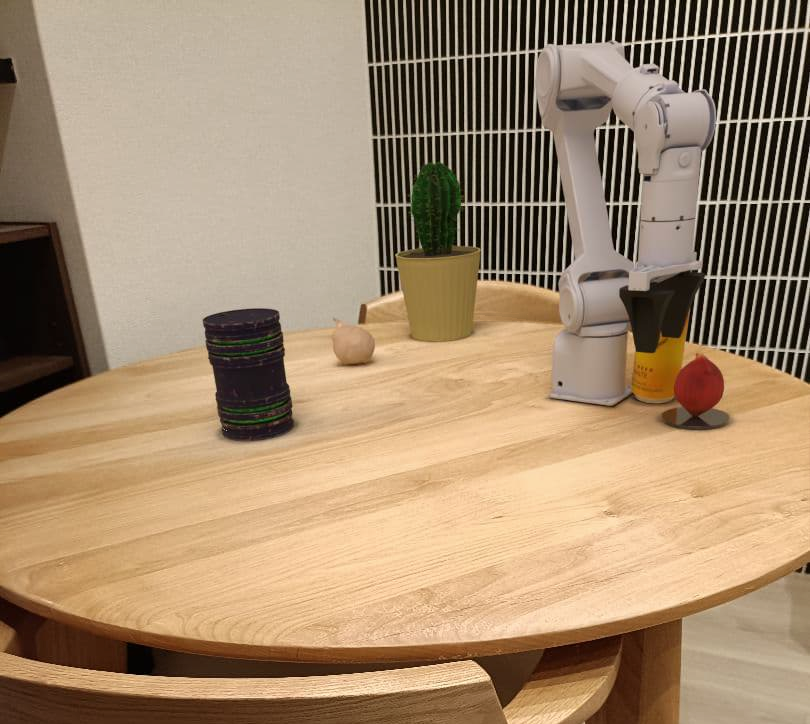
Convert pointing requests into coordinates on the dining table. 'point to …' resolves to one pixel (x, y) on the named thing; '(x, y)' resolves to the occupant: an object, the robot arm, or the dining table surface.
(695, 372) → the onion
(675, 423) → the coaster
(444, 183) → the potted cactus
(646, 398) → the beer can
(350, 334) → the garlic bulb
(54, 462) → the dining table surface
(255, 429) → the dark purple cylinder
